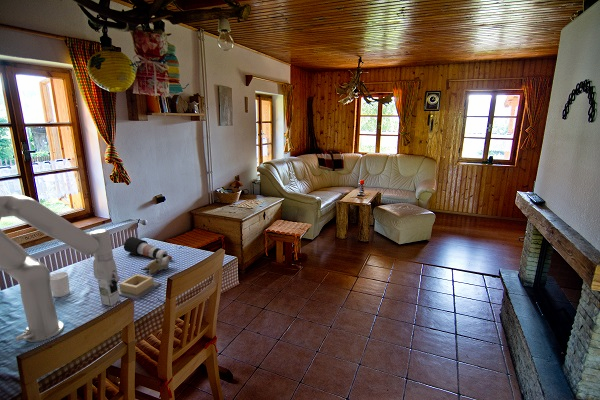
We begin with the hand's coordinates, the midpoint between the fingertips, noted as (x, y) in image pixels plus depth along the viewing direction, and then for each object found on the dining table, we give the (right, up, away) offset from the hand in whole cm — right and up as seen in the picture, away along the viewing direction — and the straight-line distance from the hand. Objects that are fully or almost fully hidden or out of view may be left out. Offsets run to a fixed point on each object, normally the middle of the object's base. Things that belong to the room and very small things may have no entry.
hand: (109, 290), depth 154 cm
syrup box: (0, -7, +2) cm, 7 cm away
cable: (-4, +7, +52) cm, 53 cm away
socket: (+7, -3, +14) cm, 16 cm away
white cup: (-29, -4, +9) cm, 31 cm away
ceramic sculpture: (+8, +2, +33) cm, 34 cm away
